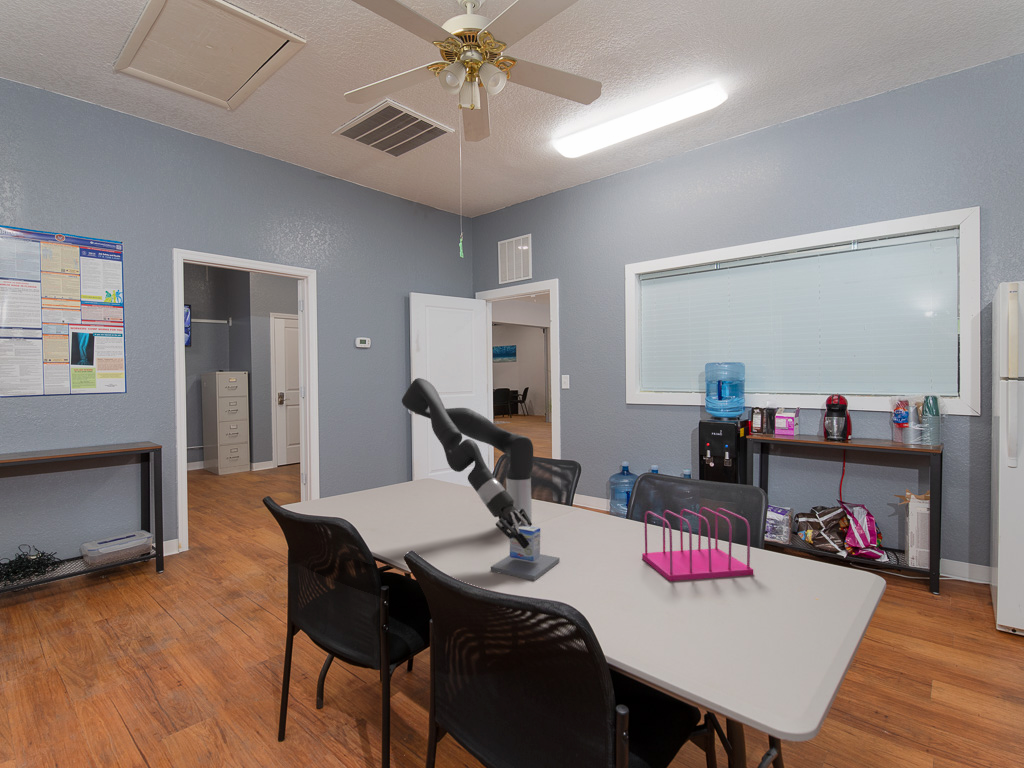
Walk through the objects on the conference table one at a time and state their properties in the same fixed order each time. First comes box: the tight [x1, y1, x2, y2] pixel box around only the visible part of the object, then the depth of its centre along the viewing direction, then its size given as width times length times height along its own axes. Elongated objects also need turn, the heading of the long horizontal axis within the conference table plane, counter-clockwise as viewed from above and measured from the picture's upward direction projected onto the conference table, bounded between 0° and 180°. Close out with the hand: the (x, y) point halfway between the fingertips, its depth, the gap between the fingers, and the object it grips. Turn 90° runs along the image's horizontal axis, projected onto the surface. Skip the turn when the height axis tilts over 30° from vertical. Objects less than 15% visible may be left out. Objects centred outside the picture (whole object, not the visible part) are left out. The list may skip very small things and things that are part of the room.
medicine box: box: [509, 525, 541, 561], centre depth 145 cm, size 8×4×9 cm, turn 62°
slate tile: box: [490, 553, 560, 582], centre depth 145 cm, size 16×14×1 cm
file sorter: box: [641, 506, 754, 582], centre depth 145 cm, size 17×25×16 cm
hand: (530, 543), depth 144 cm, fingers closed on medicine box, 4 cm apart
